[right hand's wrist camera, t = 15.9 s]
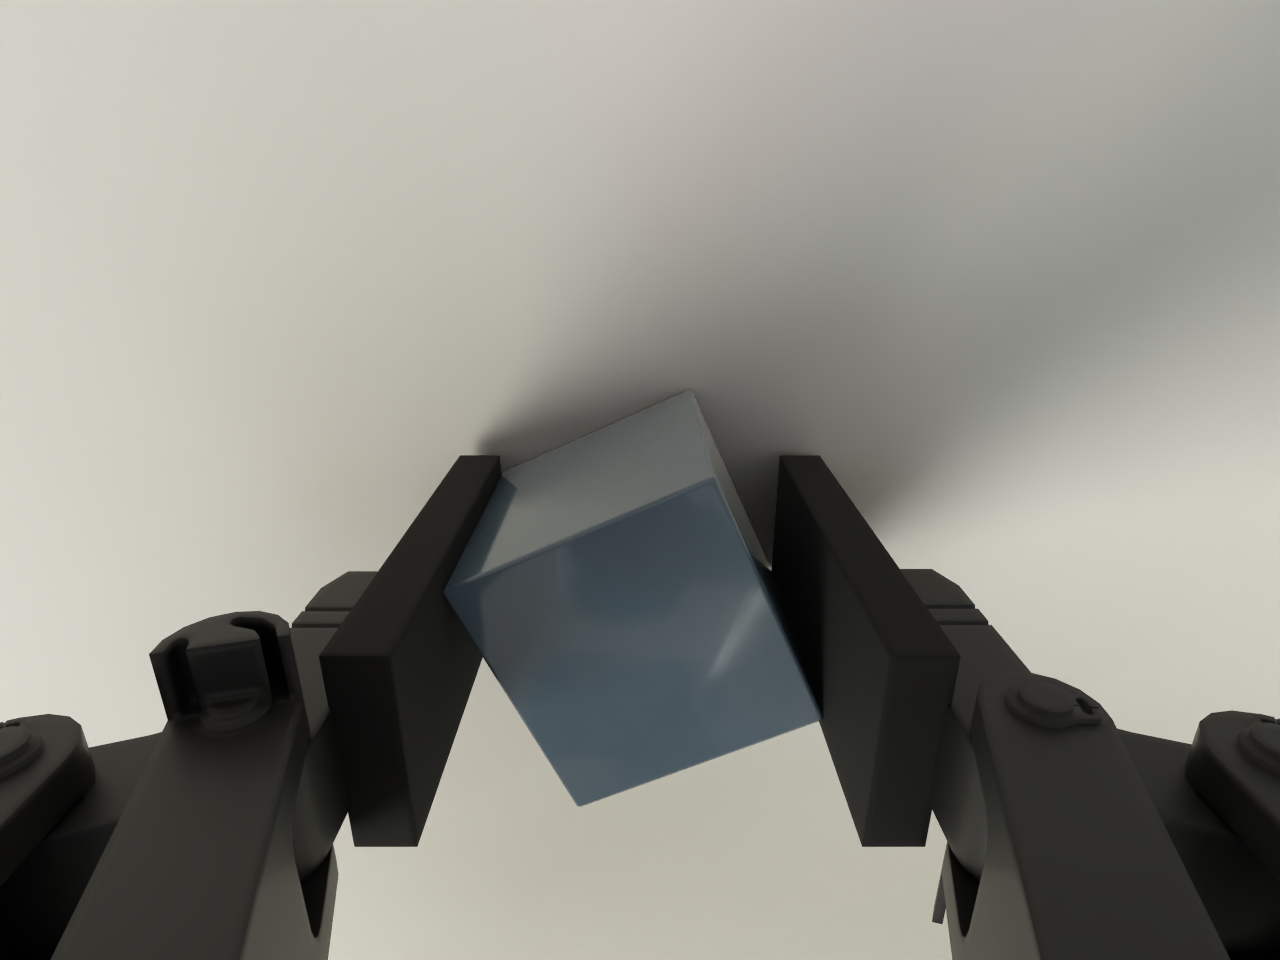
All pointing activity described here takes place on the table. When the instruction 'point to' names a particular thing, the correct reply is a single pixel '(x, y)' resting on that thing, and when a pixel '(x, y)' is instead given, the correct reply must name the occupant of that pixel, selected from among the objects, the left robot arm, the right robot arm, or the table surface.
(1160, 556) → the table surface
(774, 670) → the block
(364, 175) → the table surface
